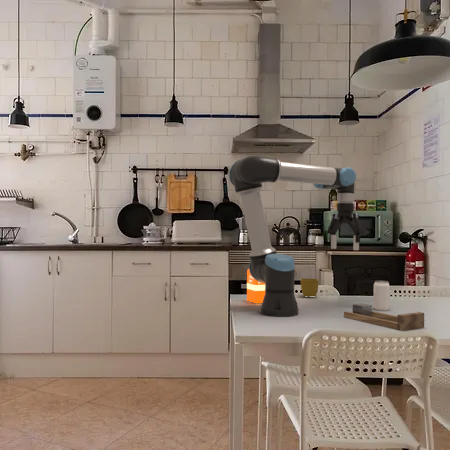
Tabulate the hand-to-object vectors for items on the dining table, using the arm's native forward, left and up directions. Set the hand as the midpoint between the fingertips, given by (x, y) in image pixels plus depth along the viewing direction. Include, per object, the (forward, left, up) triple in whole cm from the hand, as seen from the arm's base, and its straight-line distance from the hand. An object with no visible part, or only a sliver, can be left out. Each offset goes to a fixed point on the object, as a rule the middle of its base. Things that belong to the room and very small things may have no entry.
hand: (344, 249), depth 206 cm
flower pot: (-1, +24, -25) cm, 35 cm away
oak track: (-18, -36, -25) cm, 47 cm away
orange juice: (-33, +22, -25) cm, 46 cm away
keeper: (-18, -27, -25) cm, 41 cm away
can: (+3, -18, -25) cm, 31 cm away
